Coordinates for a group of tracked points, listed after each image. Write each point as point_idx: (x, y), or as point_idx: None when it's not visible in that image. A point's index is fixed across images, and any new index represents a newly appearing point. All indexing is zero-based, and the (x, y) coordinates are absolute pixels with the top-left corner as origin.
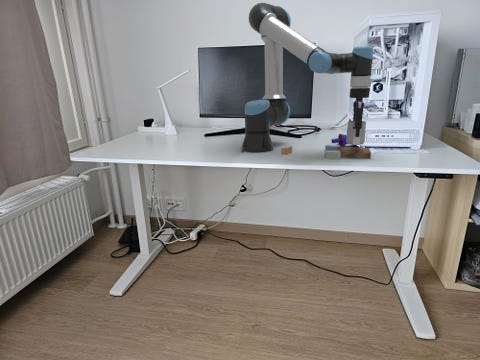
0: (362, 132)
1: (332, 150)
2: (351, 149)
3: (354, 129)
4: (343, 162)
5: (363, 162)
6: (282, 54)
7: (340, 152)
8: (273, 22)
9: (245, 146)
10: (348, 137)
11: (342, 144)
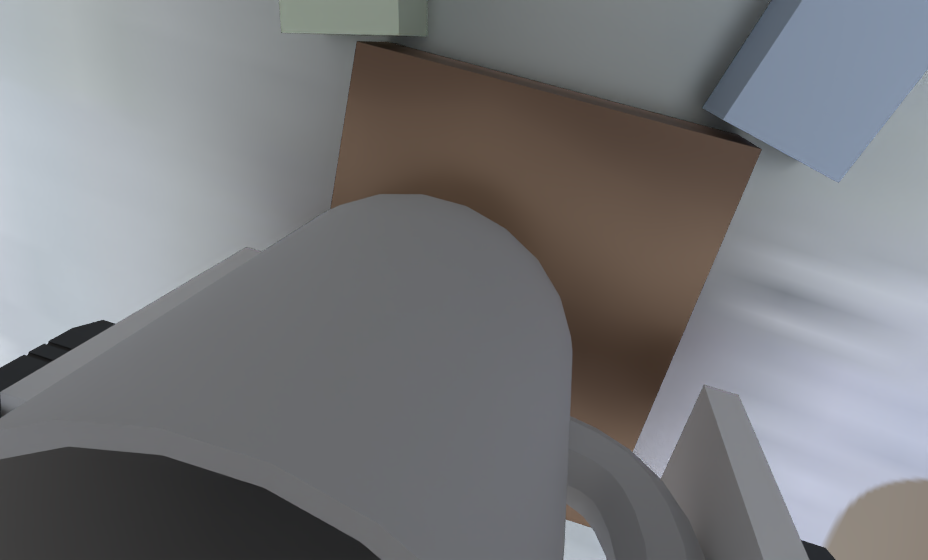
0: (170, 530)
1: (778, 8)
2: None
3: (20, 393)
4: (117, 15)
5: (151, 253)
6: None
7: (283, 25)
8: None
9: None
10: (293, 232)
11: None
